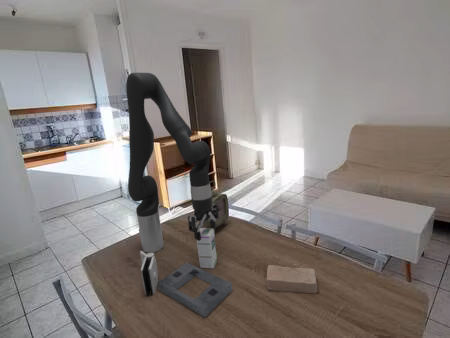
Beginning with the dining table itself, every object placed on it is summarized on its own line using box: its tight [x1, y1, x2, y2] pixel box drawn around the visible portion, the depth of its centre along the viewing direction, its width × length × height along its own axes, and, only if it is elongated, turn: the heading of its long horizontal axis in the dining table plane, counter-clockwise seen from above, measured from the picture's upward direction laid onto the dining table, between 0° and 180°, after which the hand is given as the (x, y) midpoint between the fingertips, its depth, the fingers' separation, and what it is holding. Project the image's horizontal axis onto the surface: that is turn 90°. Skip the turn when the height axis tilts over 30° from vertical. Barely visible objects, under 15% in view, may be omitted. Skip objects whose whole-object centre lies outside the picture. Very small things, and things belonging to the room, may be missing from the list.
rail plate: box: [157, 262, 233, 318], centre depth 93 cm, size 22×14×3 cm, turn 52°
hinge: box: [139, 250, 159, 297], centre depth 98 cm, size 14×5×10 cm, turn 18°
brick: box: [266, 264, 318, 294], centre depth 93 cm, size 17×8×5 cm, turn 79°
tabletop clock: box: [202, 180, 230, 234], centre depth 133 cm, size 14×9×25 cm, turn 147°
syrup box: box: [196, 227, 218, 269], centre depth 106 cm, size 6×6×14 cm
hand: (205, 234), depth 104 cm, fingers open, 8 cm apart
